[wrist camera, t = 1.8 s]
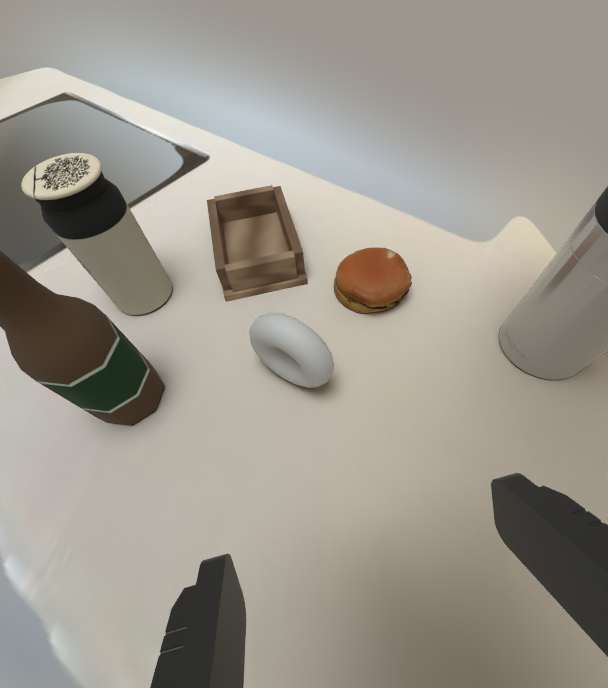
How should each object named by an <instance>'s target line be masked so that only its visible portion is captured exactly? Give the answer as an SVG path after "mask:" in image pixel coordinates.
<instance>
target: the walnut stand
mask: <svg viewBox="0 0 608 688" xmlns="http://www.w3.org/2000/svg"><path fill="white" fill-rule="evenodd" d="M214 197H215V199H211V200H207V205H208V212H209V220H210V228H211V236H212V243H213V251H214V259H215V267H216V272H217V274H218V277H219V279H220V282H221V284H222V287H223V292H224V297H225V300H226V301H230V300H234V299H239V298H244V297H248V296H253V295H257V294H262V293H267V292H271V291H276V290H280V289H285V288H289V287H294V286H299V285H303V284H307V277H306V274H305V271H304V259H303V251H302V248H301V245H300V242H299V239H298V236H297V233H296V230H295V227H294V224H293V221H292V219H291V216H290V213H289V210H288V207H287V204H286V201H285V198H284V195H283V192H282V189H281V186H278V187H272V185H271V186H266V187H261V188H256V189H251V190H245V191H240V192H235V193H230V194H225V195H220V196H214Z"/></svg>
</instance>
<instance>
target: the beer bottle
mask: <svg viewBox="0 0 608 688" xmlns="http://www.w3.org/2000/svg"><path fill="white" fill-rule="evenodd" d="M0 326H1V327H2V329H3V330H4V331H5V333H6V337H7V340H8V343H9V347H10V350H11V353H12V356H13V357H14V359H15V361H16V362H17V364H18V365H19V367H20V369H21V370H22V371H23V372H25V373H26V374H27V375H29V376H30V377H31V378H33V379H34V380H35V381H37V382H38V383H40V384H42V385H43V386H45V387H47V388H48V389H50V390H52V391H54V392H55V393H57V394H59V395H60V396H62V397H64V398H65V399H67V400H69V401H70V402H72V403H74V404H75V405H77V406H79V407H80V408H82V409H84V410H85V411H87V412H89V413H90V414H92V415H94V416H95V417H97V418H99V419H101V420H103V421H105V422H108V423H116V424H124V425H134V424H135V423H137V422H138V421H140V420H142V419H143V418H145V417H146V416H148V415H149V414H151V413H152V412H154V411H156V408H157V406H158V403H159V401H160V398H161V396H162V393H163V391H164V385H163V383H162V381H161V380H160V378H159V376H158V374H157V373H156V371H155V369H154V368H153V367H152V365H151V364H150V363H149V362H148V360H147V359H146V358H145V357H144V356H143V355H142V354H141V353H140V352H139V351H138V350H137V348H136V347H135V346H134V345H133V344H132V343H131V342H130V341H129V340H128V339H127V338H126V337H125V335H124V334H123V333H122V332H121V331H120V330H119V329H118V328H117V327H116V326H115V325H114V324H113V322H112V321H111V320H110V319H109V318H108V317H107V316H106V315H105V314H104V313H103V312H102V311H100V310H99V309H98V308H97V307H96V306H95V305H93V304H91V303H89V302H86V301H84V300H82V299H80V298H76V297H70V296H64V295H58V294H55V293H54V292H52V291H51V290H49V289H47V288H46V287H44V286H43V285H41V284H40V283H38V282H37V281H36V280H35V279H34V278H32V277H31V276H30V275H29V274H27V273H26V272H25V271H24V270H23V269H21V268H20V267H19V266H18V265H17V264H15V263H14V262H13V261H12V260H10V259H9V258H8V257H7V256H6V255H5V254H3V253H2V252H1V251H0Z"/></svg>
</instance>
